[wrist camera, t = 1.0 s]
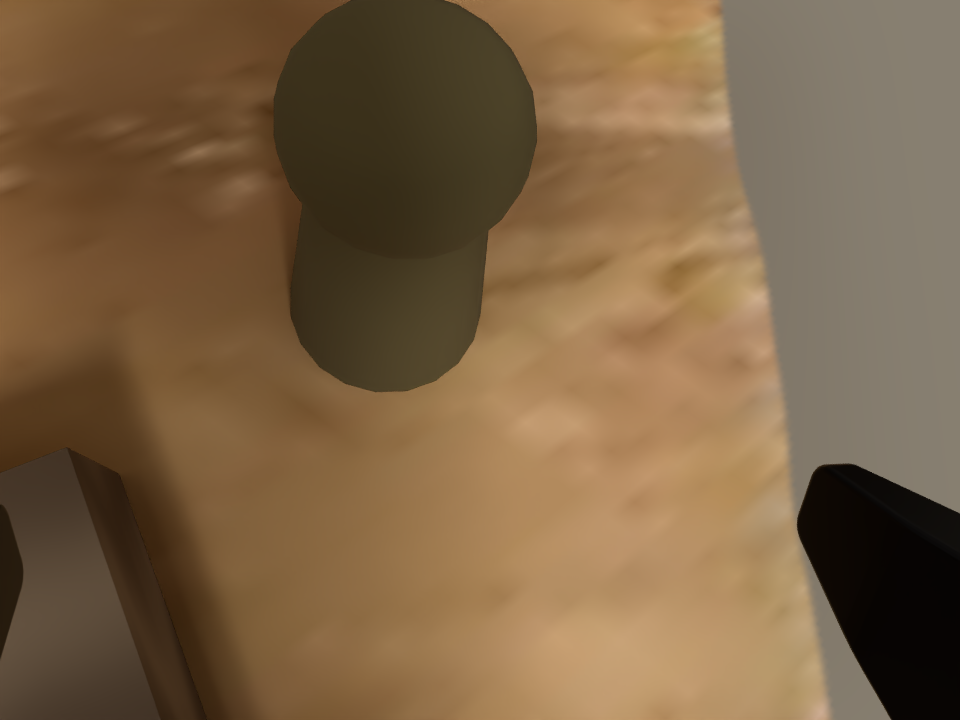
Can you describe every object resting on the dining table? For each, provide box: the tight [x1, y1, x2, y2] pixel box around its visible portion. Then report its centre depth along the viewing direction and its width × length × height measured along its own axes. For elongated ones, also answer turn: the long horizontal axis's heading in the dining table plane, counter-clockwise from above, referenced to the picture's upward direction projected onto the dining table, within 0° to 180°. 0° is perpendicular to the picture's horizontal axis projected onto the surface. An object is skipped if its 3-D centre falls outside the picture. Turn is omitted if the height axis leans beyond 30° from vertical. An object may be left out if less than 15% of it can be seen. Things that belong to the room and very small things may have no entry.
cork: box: [274, 0, 537, 392], centre depth 18 cm, size 6×6×11 cm
